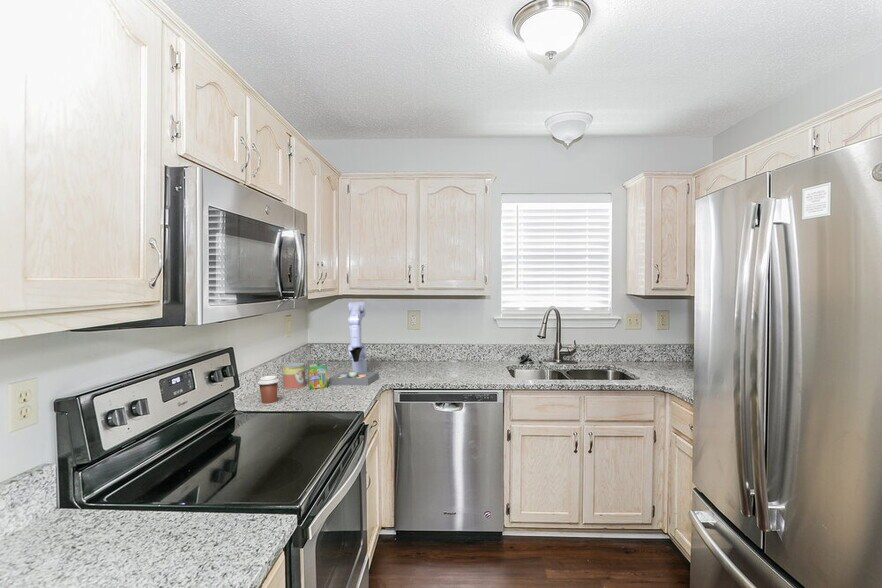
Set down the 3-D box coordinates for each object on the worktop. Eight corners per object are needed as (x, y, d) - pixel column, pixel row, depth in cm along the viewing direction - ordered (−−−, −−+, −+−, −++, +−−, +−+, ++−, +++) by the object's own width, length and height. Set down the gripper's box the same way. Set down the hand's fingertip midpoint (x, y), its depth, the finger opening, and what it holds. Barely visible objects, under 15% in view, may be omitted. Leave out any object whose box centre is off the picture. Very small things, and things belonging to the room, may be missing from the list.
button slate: (341, 379, 241) (341, 373, 241) (348, 379, 240) (348, 373, 240) (338, 380, 237) (338, 375, 237) (345, 380, 237) (345, 375, 236)
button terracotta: (360, 379, 239) (360, 373, 239) (367, 379, 238) (367, 374, 238) (357, 381, 235) (357, 375, 235) (364, 381, 234) (364, 375, 234)
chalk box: (308, 386, 233) (306, 358, 233) (325, 384, 236) (324, 356, 236) (309, 389, 224) (308, 361, 224) (327, 387, 228) (326, 359, 227)
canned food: (293, 390, 225) (292, 367, 224) (278, 388, 230) (277, 365, 230) (310, 385, 234) (309, 363, 234) (295, 383, 240) (294, 361, 240)
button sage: (351, 376, 240) (350, 371, 240) (357, 377, 239) (357, 371, 239) (348, 378, 236) (347, 372, 236) (354, 378, 235) (354, 373, 235)
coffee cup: (283, 400, 205) (282, 374, 205) (275, 405, 196) (273, 379, 196) (264, 400, 205) (262, 375, 205) (255, 406, 196) (253, 379, 196)
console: (342, 378, 250) (342, 371, 250) (378, 378, 245) (378, 371, 245) (329, 384, 234) (329, 377, 234) (368, 385, 229) (367, 378, 229)
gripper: (353, 335, 250) (354, 359, 250) (342, 338, 236) (343, 363, 236) (365, 335, 248) (366, 359, 249) (354, 338, 234) (355, 363, 234)
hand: (356, 361), depth 242 cm, fingers closed
